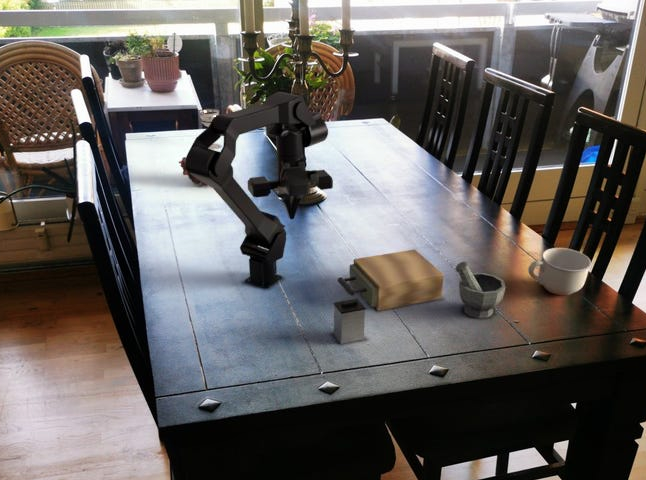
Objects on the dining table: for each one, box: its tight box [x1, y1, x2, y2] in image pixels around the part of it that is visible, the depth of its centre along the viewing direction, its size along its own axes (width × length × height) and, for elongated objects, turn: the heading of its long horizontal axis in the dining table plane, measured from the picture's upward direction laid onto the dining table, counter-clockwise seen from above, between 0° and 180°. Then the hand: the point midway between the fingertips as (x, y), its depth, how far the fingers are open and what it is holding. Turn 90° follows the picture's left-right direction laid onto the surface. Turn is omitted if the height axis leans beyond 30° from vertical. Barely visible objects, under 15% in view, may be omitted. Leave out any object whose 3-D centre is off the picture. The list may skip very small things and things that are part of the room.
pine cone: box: [178, 156, 208, 187], centre depth 222 cm, size 18×10×10 cm
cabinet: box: [353, 249, 445, 312], centre depth 165 cm, size 16×14×6 cm
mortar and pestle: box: [455, 261, 506, 319], centre depth 156 cm, size 11×9×12 cm
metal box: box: [333, 297, 367, 345], centre depth 147 cm, size 5×4×8 cm
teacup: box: [527, 247, 592, 296], centre depth 166 cm, size 14×11×8 cm
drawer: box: [337, 263, 378, 308], centre depth 164 cm, size 19×13×4 cm
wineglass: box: [199, 108, 221, 150], centre depth 253 cm, size 7×7×12 cm
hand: (291, 218), depth 170 cm, fingers closed
